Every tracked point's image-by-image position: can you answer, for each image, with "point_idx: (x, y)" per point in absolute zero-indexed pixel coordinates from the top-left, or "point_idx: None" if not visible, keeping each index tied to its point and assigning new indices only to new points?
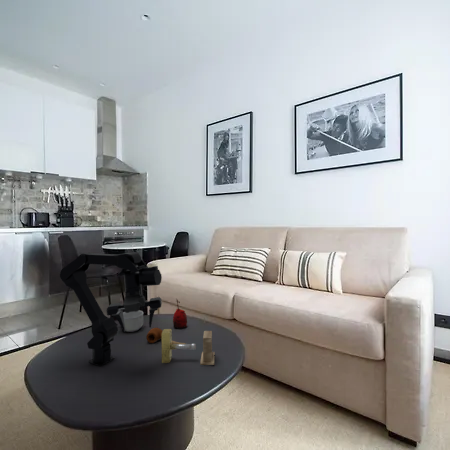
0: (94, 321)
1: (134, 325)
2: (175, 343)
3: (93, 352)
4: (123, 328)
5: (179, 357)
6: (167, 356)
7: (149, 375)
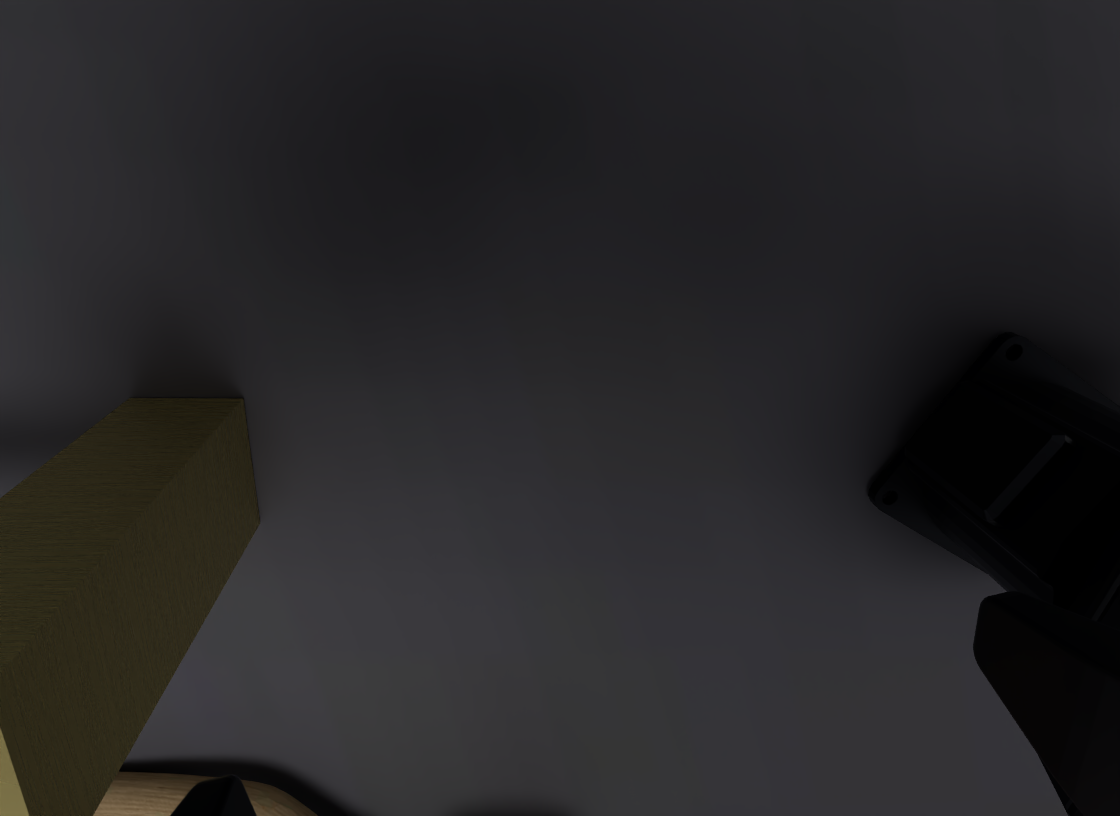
0: None
1: None
2: None
3: None
4: (1094, 644)
5: None
6: (122, 432)
7: (301, 64)
